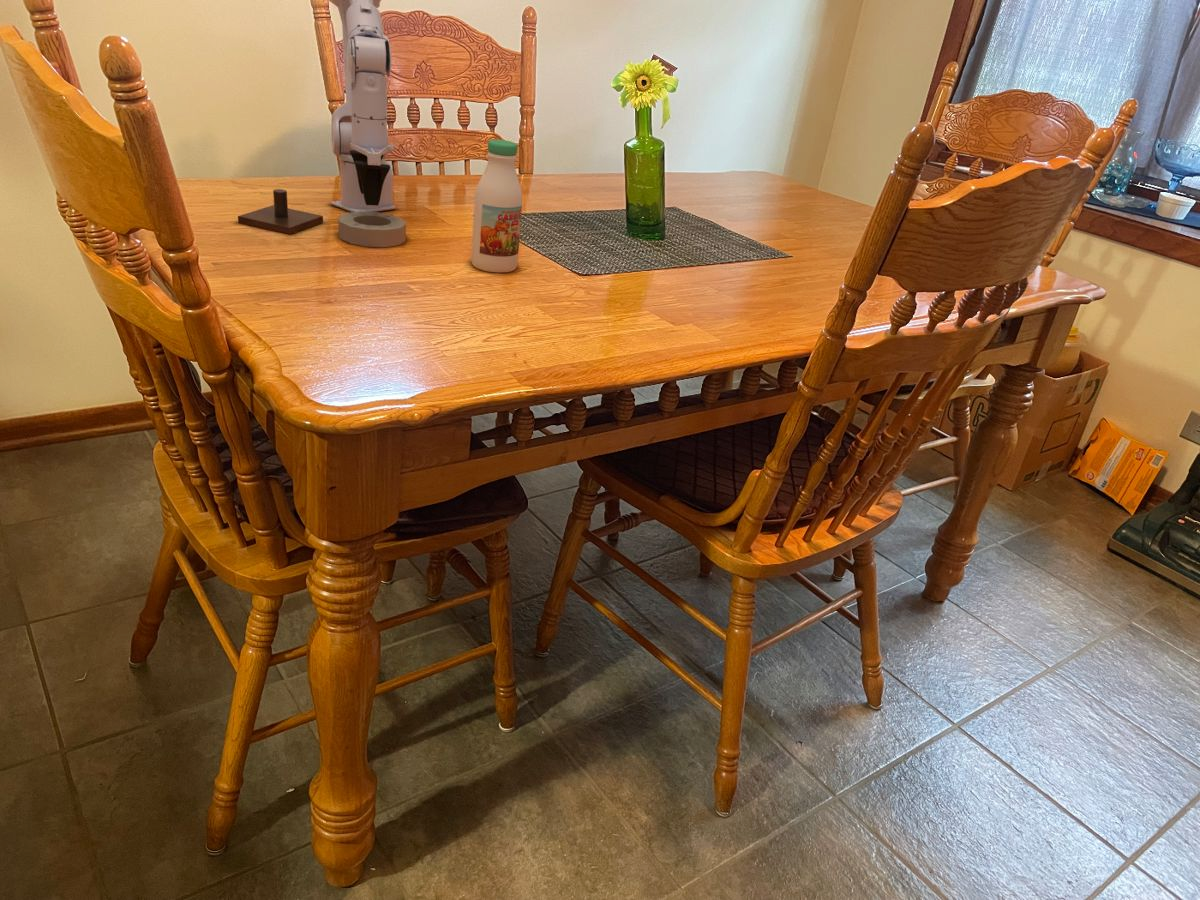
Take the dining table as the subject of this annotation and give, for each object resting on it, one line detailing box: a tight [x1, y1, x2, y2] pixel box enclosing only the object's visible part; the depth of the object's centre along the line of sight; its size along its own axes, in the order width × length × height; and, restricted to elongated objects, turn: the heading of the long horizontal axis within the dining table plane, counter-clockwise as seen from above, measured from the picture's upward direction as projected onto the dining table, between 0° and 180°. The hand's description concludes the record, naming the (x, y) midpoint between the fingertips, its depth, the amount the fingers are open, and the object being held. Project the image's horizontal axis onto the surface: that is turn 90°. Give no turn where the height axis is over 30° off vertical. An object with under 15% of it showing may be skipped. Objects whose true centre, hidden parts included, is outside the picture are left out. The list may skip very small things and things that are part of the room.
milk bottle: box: [470, 139, 523, 273], centre depth 133 cm, size 8×8×20 cm
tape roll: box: [337, 211, 407, 248], centre depth 142 cm, size 11×11×3 cm
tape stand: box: [237, 188, 324, 235], centre depth 142 cm, size 10×10×6 cm
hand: (369, 199), depth 144 cm, fingers open, 7 cm apart
